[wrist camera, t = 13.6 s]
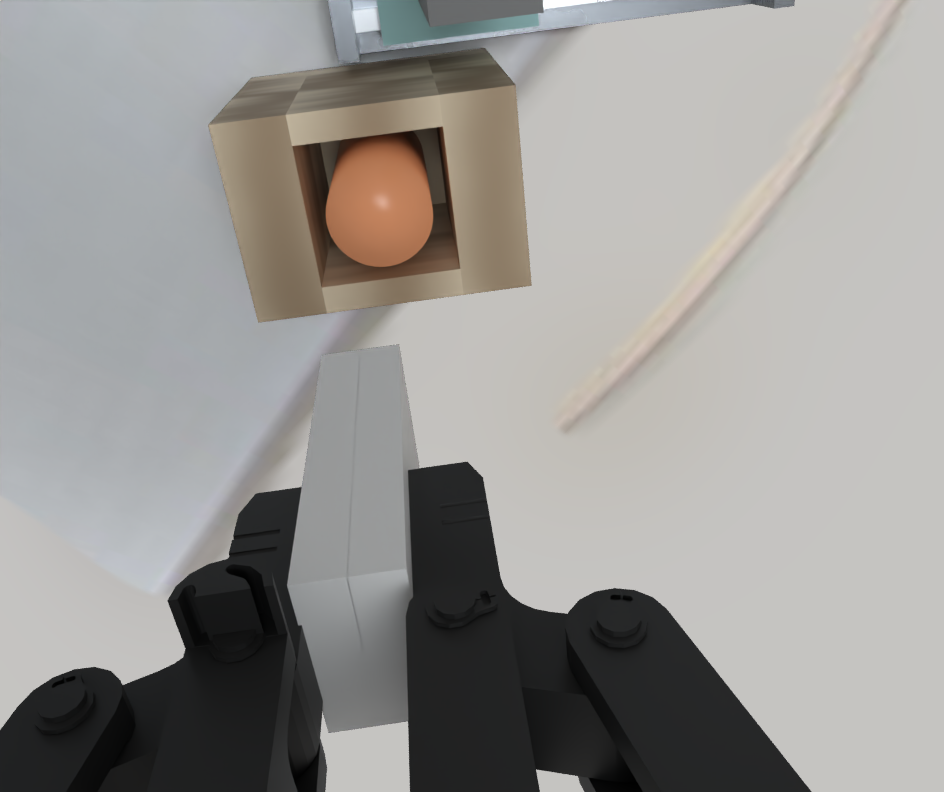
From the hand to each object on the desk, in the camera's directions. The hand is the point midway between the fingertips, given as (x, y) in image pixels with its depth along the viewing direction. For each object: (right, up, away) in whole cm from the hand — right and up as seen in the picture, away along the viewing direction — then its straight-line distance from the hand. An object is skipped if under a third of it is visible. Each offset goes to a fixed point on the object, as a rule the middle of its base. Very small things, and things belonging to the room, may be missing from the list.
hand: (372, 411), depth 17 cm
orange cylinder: (-2, +10, +19) cm, 21 cm away
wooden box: (-2, +11, +21) cm, 24 cm away
